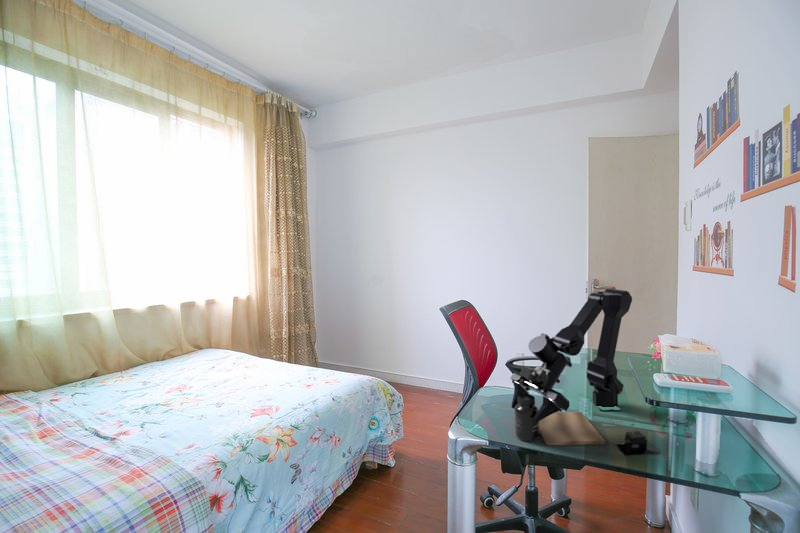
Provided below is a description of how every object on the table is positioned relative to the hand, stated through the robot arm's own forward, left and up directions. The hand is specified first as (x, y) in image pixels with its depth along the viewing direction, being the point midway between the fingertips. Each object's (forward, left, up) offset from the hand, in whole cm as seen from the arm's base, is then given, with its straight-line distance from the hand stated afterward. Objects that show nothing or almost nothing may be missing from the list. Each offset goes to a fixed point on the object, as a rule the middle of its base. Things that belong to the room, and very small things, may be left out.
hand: (523, 414), depth 109 cm
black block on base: (-28, +7, -8) cm, 30 cm away
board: (-13, -4, -7) cm, 15 cm away
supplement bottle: (-1, -1, -7) cm, 7 cm away
